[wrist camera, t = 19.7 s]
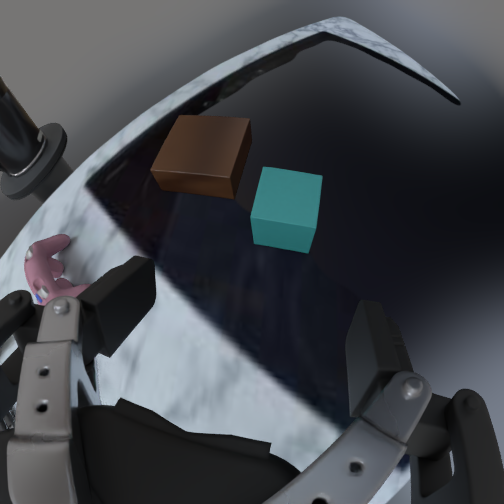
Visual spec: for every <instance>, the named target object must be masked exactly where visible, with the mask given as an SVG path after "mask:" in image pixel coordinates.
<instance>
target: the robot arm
mask: <svg viewBox="0 0 504 504" xmlns="http://www.w3.org/2000/svg"><path fill="white" fill-rule="evenodd" d="M46 146H47V138H46V137H45V136H44V134H43V132H42V131H41V130H39V129H38V128H37V126H36V125H35V123H34V122H33V121H32V119H31V118H30V117H29V116H28V114H27V113H26V111H25V110H24V108H23V107H22V106H21V104H20V103H19V102H18V100H17V99H16V97H15V96H14V94H13V93H12V91H11V90H10V89H9V87H8V86H7V84H6V83H5V81H4V80H3V78H2V77H1V76H0V171H2V172H5V173H6V174H7V175H8V176H9V177H11V176H13V177H16V178H17V177H20V176H22V175H24V174H25V173H27V172H28V171H29V170H30V169H31V168H32V167H33V166H34V165H35V164H36V163H37V161H38V160H39V159H40V157H41V156H42V154H43V152H44V150H45V148H46ZM155 300H156V281H155V265H154V261H153V260H152V259H149V258H144V257H140V256H133V257H132V258H131V259H129V260H128V261H127V262H125V263H124V264H123V265H120V266H117V267H115V268H112V269H111V270H109V271H108V272H107V273H105V274H104V275H103V277H100V278H99V279H98V280H97V282H96V281H95V282H94V283H93V284H91V285H90V286H89V287H88V288H86V289H85V290H84V291H83V292H81V293H80V294H79V295H78V296H77V297H73V296H59V297H56V298H54V299H52V300H50V301H49V302H48V303H47V304H46V305H37V304H34V303H33V299H32V296H31V294H30V292H28V291H26V290H18V291H14V292H11V293H10V294H8V295H7V296H5V297H4V298H3V299H1V300H0V346H1V345H2V344H3V343H4V342H5V341H6V340H7V339H8V338H9V337H10V336H11V335H12V334H13V336H14V338H15V340H16V342H17V345H18V348H17V349H16V350H15V351H14V352H13V353H12V354H11V355H10V356H9V357H8V358H7V359H6V361H5V362H4V363H3V364H2V365H1V366H0V423H1V421H2V420H3V418H4V417H5V416H6V414H7V413H8V412H9V410H10V409H11V408H12V406H13V405H14V404H15V402H16V401H17V406H16V418H15V428H11V429H7V430H3V431H0V504H368V503H369V501H370V500H371V499H372V498H373V496H374V495H375V494H376V493H377V491H378V490H379V489H380V487H381V486H382V485H383V484H384V482H385V481H386V479H387V478H388V477H389V475H390V474H391V472H392V471H393V470H394V468H395V467H396V465H397V464H398V462H399V461H400V459H401V458H402V456H403V455H404V453H405V454H408V455H410V471H411V504H504V469H503V464H502V459H501V455H500V451H499V447H498V443H497V439H496V436H495V432H494V428H493V425H492V422H491V419H490V416H489V412H488V409H487V407H486V404H485V402H484V400H483V398H482V397H481V396H480V395H479V394H478V393H476V392H475V391H473V390H470V389H461V390H459V391H458V392H456V394H455V395H454V396H453V398H452V399H450V398H447V397H443V396H440V395H436V394H434V393H432V390H431V387H430V385H429V383H428V382H427V381H426V379H425V378H424V377H422V376H421V375H419V374H417V373H414V371H413V368H412V365H411V362H410V359H409V356H408V353H407V350H406V347H405V346H404V341H403V338H402V335H401V332H400V330H399V327H398V325H397V324H396V323H395V322H394V321H393V320H392V319H391V318H390V317H385V314H384V311H383V309H382V306H381V303H379V302H373V301H366V300H360V302H359V304H358V306H357V309H356V312H355V315H354V317H353V320H352V323H351V325H350V328H349V331H348V334H347V337H346V344H345V351H346V361H347V373H348V387H349V403H350V417H358V418H357V419H356V420H355V421H354V422H353V423H352V424H351V425H350V426H349V427H348V428H347V429H346V430H345V432H344V433H343V434H342V435H341V436H340V437H339V438H338V439H337V440H336V441H335V442H334V443H333V444H332V445H331V446H330V447H329V448H328V449H327V450H326V451H325V452H324V453H323V454H322V455H320V456H319V457H318V458H317V459H316V460H315V461H314V462H313V463H312V464H311V465H310V466H308V467H307V468H306V469H305V470H304V471H303V472H302V473H301V472H300V471H299V470H298V469H297V468H295V467H294V466H293V465H291V464H290V463H288V462H287V461H285V460H284V459H282V458H280V457H278V456H276V455H273V454H271V453H269V452H270V447H271V443H269V442H264V441H258V440H253V439H248V438H243V437H239V436H234V435H225V434H206V433H192V432H187V431H184V430H183V429H181V428H179V427H178V426H176V425H174V424H173V423H171V422H169V421H168V420H166V419H165V418H163V417H161V416H160V415H158V414H157V413H155V412H154V411H152V410H149V409H147V408H144V407H142V406H139V405H137V404H134V403H132V402H130V401H127V400H125V399H123V398H120V399H119V400H118V402H117V403H116V405H115V406H109V405H102V404H101V400H100V391H99V381H98V369H97V360H96V356H97V354H98V353H100V354H103V355H105V356H107V357H109V358H110V357H111V356H112V355H113V353H114V352H115V351H116V350H117V349H118V347H119V346H120V345H121V344H122V343H123V341H124V340H125V339H126V338H127V337H128V335H129V334H130V333H131V332H132V331H133V329H134V328H135V327H136V326H137V325H138V323H139V322H140V321H141V320H142V319H143V318H144V316H145V315H146V314H147V313H148V312H149V311H150V309H151V308H152V307H153V305H154V303H155ZM451 450H452V454H453V461H454V475H453V477H452V468H451V461H450V454H449V452H450V451H451Z"/></svg>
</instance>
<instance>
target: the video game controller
mask: <svg viewBox="0 0 504 504" xmlns="http://www.w3.org/2000/svg"><path fill="white" fill-rule="evenodd" d="M69 243H70V237H69V236H67V235H65V234H59V235H55V236H52V237H50V238H47V239H44V240H41V241H37V242H35V243H33V244H32V245H31V246H30V247H29V249H28V250H27V252H26V256H25V262H24V270H25V275H26V279H27V282H28V284H29V286H30V288H31V290H32V292H33V293H34V295H35V296H36V298H37V301H38V304H39V305H46V304H47V303H48V302H49V301H50V300H52V299H54V298H56V297H59V296H73V297H77V296H78V295H79V294H80V293H81V292H83V291H84V290H85V289H86V288H88V287H89V286H90V285H91V284H82V285H78V286H75V287H73V286H72V284H71V283H70V282H69V281H68V280H67V279H64V278H59V277H61V275H62V272H63V270H64V267H63V264H62V263H61V262H60V261H58V260H56V259H53V258H51V256H53V255H54V254H56V253H58V252H59V251H61V250H63V249H64V248H65V247H67V245H68V244H69ZM54 278H59V279H57V280H56V281H55V280H54Z"/></svg>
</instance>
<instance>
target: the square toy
mask: <svg viewBox="0 0 504 504" xmlns="http://www.w3.org/2000/svg"><path fill="white" fill-rule="evenodd" d="M321 184H322V176H320V175H314V174H309V173H303V172H297V171H291V170H284V169H278V168H270V167H263V170H262V173H261V177H260V181H259V185H258V189H257V193H256V197H255V201H254V205H253V209H252V212H251V216H250V218H251V225H252V232H253V239H254V244H259V245H265V246H271V247H276V248H282V249H287V250H293V251H298V252H304V253H309V250H310V247H311V244H312V240H313V237H314V234H315V230H316V226H317V218H318V211H319V203H320V194H321Z"/></svg>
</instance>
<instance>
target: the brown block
mask: <svg viewBox="0 0 504 504" xmlns="http://www.w3.org/2000/svg"><path fill="white" fill-rule="evenodd" d="M251 143H252V135H251V124H250V119H249V118H236V117H222V116H197V115H179V117H178V119H177V120H176V122H175V124H174V126H173V128H172V129H171V131H170V133H169V135H168V137H167V139H166V140H165V142H164V144H163V146H162V148H161V150H160V152H159V154H158V156H157V158H156V160H155V162H154V164H153V166H152V168H151V172H152V174H153V176H154V177H155V179H156V181H157V183H158V184H159V186H160V188H161V190H165V191H174V192H182V193H191V194H199V195H207V196H214V197H222V198H229V199H235V196H236V193H237V189H238V186H239V182H240V179H241V176H242V173H243V169H244V166H245V163H246V159H247V156H248V153H249V149H250V146H251Z"/></svg>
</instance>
